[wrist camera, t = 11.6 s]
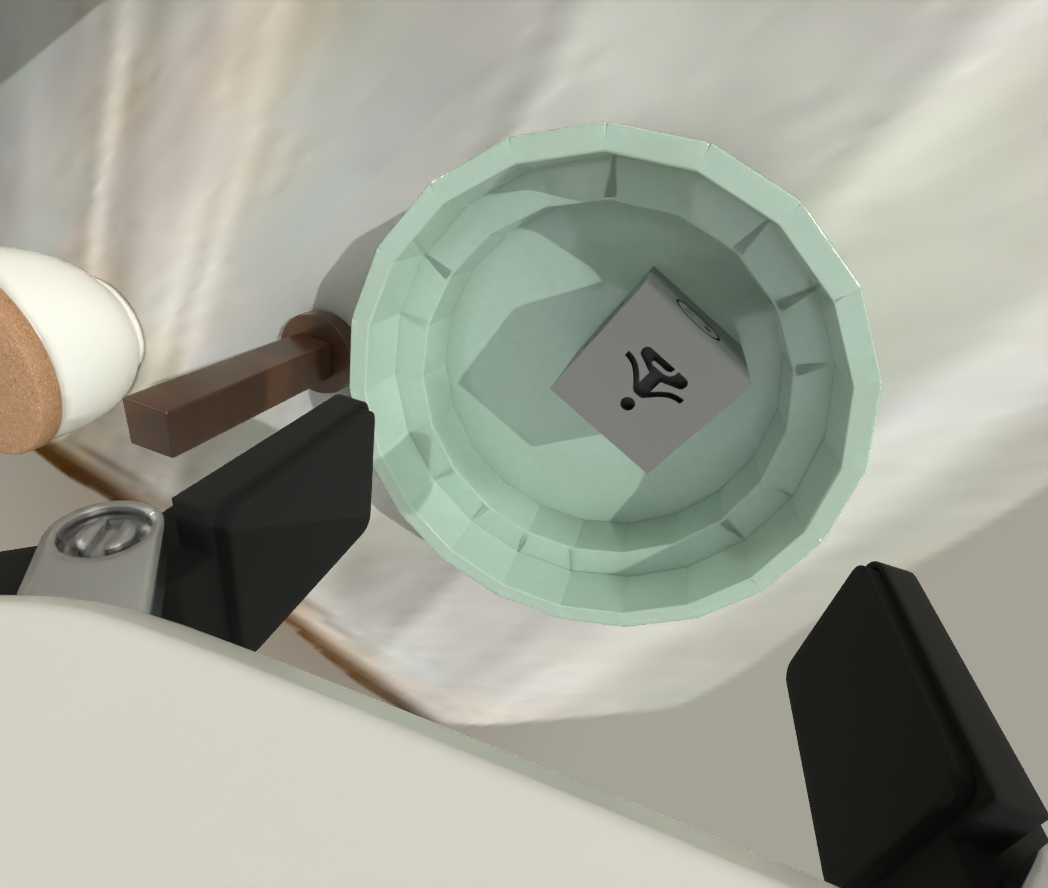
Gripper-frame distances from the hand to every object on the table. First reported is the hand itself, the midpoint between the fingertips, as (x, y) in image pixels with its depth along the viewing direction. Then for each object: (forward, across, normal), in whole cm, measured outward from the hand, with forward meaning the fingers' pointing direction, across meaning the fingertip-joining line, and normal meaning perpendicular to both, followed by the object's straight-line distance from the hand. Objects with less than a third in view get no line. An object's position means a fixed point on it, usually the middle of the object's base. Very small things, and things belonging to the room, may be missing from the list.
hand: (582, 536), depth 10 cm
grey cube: (+15, -1, +1) cm, 15 cm away
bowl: (+16, +1, +3) cm, 16 cm away
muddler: (+16, +16, +6) cm, 23 cm away
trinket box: (+16, +32, +9) cm, 37 cm away
